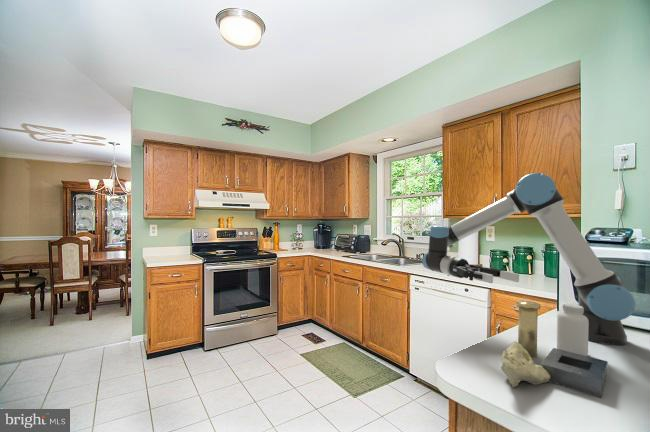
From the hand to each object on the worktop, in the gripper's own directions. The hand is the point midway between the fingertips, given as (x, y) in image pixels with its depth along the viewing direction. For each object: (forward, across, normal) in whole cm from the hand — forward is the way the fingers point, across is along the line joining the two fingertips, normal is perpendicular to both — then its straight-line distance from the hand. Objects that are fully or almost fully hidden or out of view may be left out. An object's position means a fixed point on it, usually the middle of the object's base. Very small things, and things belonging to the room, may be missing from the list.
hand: (505, 278), depth 106 cm
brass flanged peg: (+9, 0, -22) cm, 24 cm away
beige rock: (+21, +21, -22) cm, 37 cm away
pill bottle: (+14, -16, -21) cm, 30 cm away
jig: (+24, +3, -21) cm, 32 cm away
